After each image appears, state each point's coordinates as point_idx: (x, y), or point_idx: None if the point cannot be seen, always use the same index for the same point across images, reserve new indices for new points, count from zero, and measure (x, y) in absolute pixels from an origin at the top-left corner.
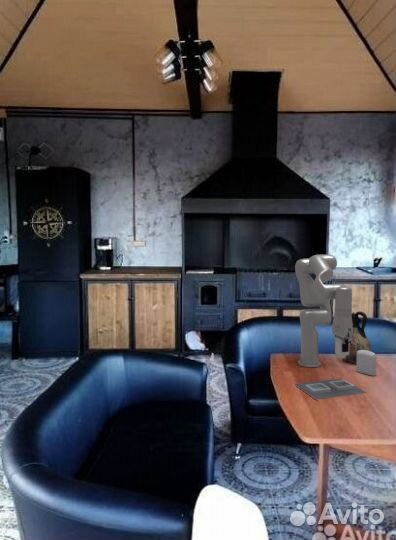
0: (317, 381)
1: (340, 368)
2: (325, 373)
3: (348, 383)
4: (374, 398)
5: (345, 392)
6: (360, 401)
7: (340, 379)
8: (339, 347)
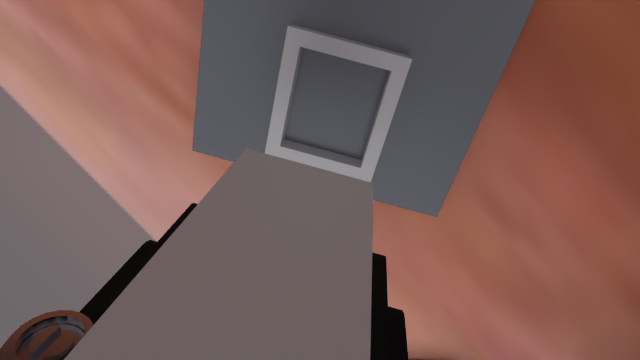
0: (514, 38)
1: (556, 351)
2: (581, 234)
3: (314, 154)
4: (141, 134)
5: (246, 40)
6: (130, 28)
7: (425, 201)
8: (217, 225)
